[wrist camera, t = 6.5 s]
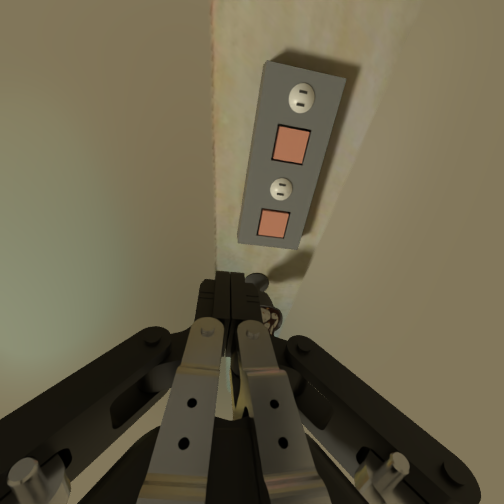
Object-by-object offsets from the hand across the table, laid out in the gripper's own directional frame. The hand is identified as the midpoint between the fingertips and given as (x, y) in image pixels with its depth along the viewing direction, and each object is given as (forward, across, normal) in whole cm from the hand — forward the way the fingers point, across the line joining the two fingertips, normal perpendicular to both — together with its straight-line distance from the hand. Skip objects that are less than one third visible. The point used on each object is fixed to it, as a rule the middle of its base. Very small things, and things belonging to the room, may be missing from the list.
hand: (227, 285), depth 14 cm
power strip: (+29, -8, -2) cm, 30 cm away
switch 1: (+28, -8, +6) cm, 29 cm away
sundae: (+29, -8, +20) cm, 36 cm away
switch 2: (+28, -8, -5) cm, 29 cm away
